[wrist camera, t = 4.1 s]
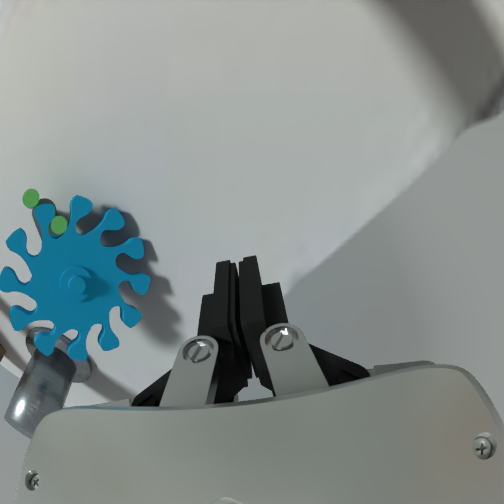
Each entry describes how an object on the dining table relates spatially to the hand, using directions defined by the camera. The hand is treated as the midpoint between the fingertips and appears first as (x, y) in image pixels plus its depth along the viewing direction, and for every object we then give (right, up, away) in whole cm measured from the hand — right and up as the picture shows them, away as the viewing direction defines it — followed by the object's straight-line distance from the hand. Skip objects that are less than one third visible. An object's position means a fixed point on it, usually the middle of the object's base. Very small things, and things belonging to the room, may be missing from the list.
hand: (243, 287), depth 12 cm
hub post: (-20, -9, +11) cm, 25 cm away
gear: (-10, +2, +5) cm, 12 cm away
